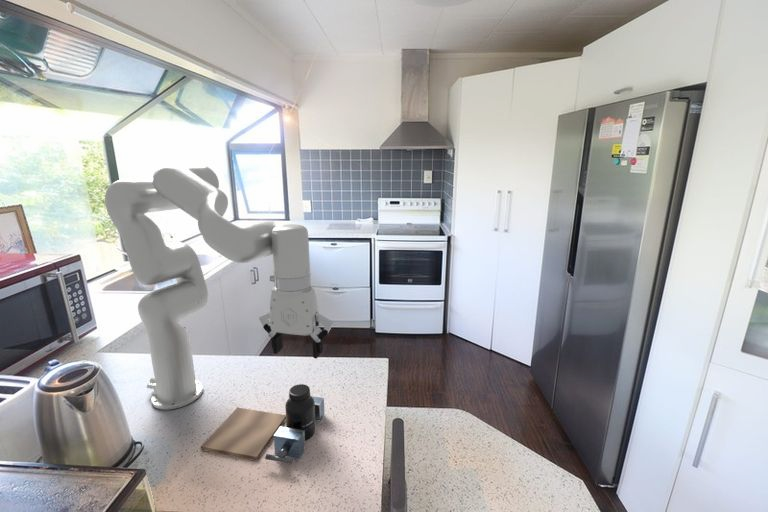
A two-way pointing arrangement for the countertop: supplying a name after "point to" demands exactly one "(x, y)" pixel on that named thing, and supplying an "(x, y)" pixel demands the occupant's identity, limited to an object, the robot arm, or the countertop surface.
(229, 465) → the countertop surface
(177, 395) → the robot arm
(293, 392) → the supplement bottle
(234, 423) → the walnut board
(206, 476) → the countertop surface
